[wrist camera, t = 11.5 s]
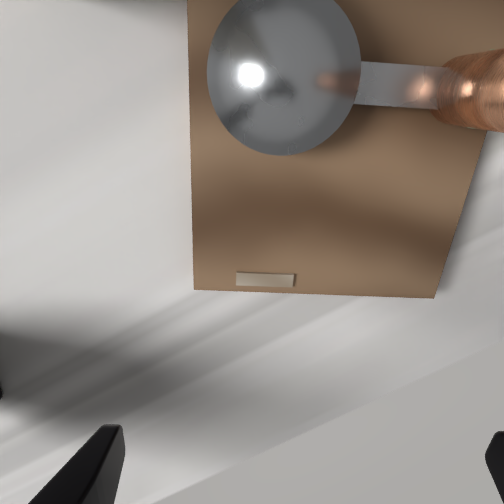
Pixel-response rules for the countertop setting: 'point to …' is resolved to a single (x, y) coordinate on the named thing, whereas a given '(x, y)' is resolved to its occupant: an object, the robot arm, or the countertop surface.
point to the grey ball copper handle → (330, 77)
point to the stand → (340, 170)
